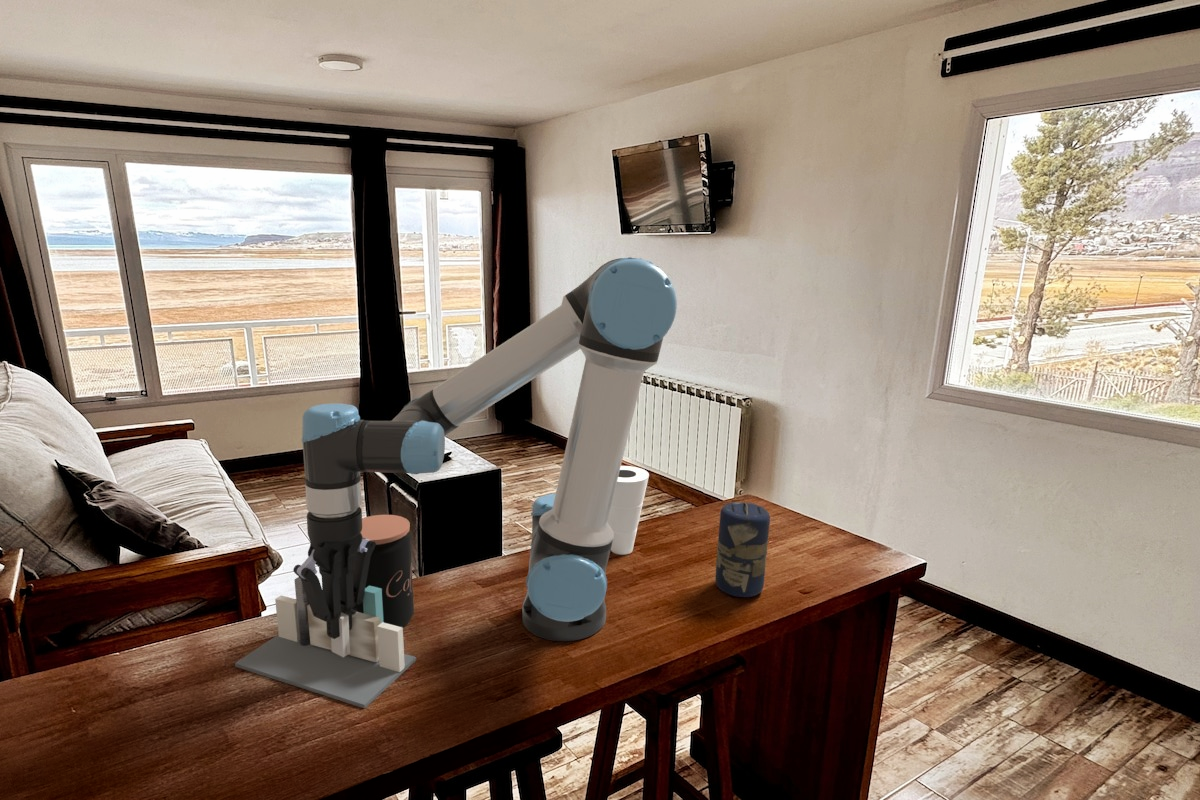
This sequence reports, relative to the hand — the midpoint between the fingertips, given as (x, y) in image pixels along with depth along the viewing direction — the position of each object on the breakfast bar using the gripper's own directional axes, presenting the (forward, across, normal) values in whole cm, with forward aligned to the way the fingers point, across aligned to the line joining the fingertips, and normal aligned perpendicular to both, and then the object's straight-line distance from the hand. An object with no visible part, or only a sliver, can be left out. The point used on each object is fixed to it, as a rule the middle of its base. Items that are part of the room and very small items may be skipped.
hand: (340, 652), depth 98 cm
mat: (+3, 0, -4) cm, 5 cm away
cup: (+2, -61, +17) cm, 63 cm away
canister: (+2, -59, +45) cm, 74 cm away
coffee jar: (+3, -13, -6) cm, 14 cm away
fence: (+3, -2, -4) cm, 5 cm away
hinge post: (+3, -1, -10) cm, 11 cm away
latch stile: (+3, -5, +2) cm, 6 cm away
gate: (+2, -3, -3) cm, 4 cm away
